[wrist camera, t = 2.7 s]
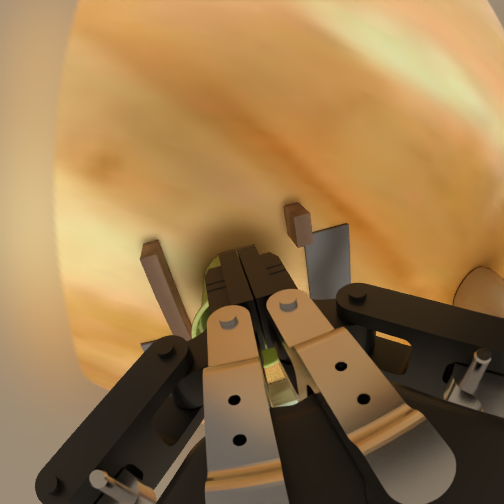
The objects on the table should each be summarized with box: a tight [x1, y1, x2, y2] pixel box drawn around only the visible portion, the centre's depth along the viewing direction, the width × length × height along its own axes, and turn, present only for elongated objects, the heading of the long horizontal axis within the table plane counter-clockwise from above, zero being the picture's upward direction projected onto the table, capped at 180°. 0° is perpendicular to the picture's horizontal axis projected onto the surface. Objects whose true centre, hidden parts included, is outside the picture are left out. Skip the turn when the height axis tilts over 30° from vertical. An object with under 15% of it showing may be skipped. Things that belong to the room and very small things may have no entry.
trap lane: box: [140, 203, 351, 407], centre depth 33 cm, size 25×26×4 cm
